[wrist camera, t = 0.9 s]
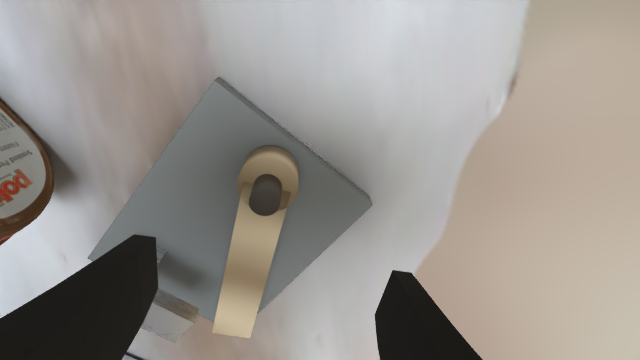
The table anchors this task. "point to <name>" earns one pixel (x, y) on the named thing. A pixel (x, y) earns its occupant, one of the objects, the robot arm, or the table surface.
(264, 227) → the beech link
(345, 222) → the slate board
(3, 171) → the tin
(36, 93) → the table surface
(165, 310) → the steel keeper
